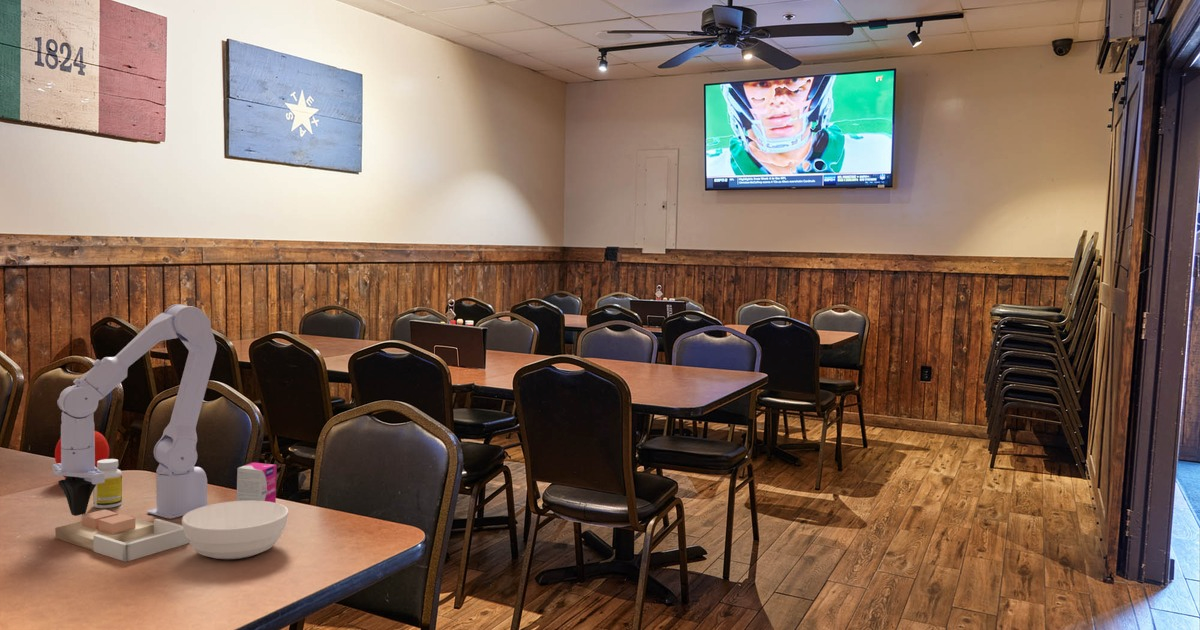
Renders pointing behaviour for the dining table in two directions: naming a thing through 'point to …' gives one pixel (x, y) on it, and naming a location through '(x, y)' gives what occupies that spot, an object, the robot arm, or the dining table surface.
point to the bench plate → (100, 533)
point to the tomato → (100, 449)
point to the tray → (142, 542)
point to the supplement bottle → (108, 485)
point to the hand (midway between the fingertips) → (78, 514)
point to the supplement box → (256, 482)
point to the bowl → (235, 528)
